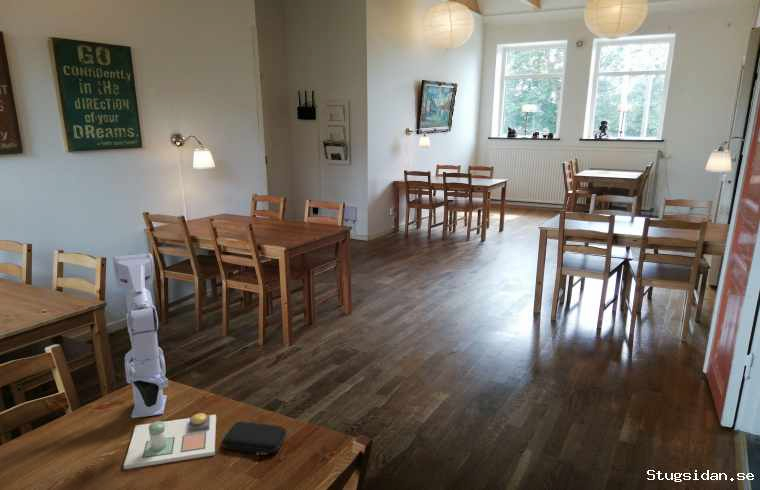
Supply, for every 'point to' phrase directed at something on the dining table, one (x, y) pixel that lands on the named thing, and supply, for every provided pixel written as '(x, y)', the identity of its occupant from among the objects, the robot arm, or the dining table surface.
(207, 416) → the colouring board
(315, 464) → the dining table surface
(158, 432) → the green bulb-shaped piece
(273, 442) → the carrying case or bag
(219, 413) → the dining table surface
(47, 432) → the dining table surface
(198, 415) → the button
